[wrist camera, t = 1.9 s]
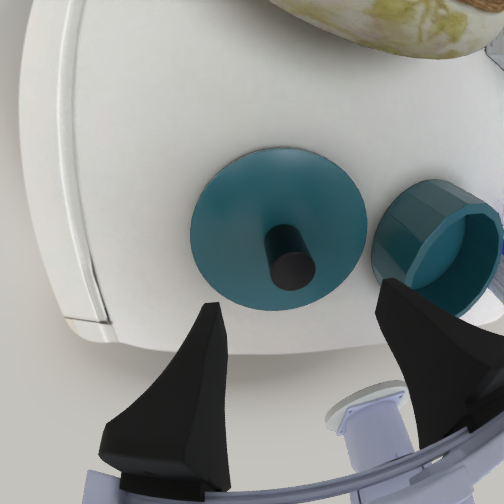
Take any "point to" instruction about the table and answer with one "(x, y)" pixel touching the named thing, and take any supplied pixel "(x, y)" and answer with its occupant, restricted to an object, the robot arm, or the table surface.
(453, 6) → the sugar bowl
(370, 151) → the table surface
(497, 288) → the bottle
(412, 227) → the teal round dish
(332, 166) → the lid
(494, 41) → the rectangular carton
